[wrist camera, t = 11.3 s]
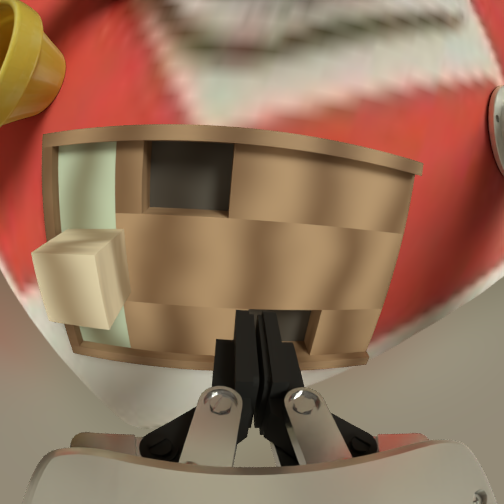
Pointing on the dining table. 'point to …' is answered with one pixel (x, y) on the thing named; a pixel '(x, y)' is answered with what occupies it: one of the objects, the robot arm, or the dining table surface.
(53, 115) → the dining table surface
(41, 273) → the block
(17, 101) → the plant pot
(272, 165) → the box
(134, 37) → the dining table surface
